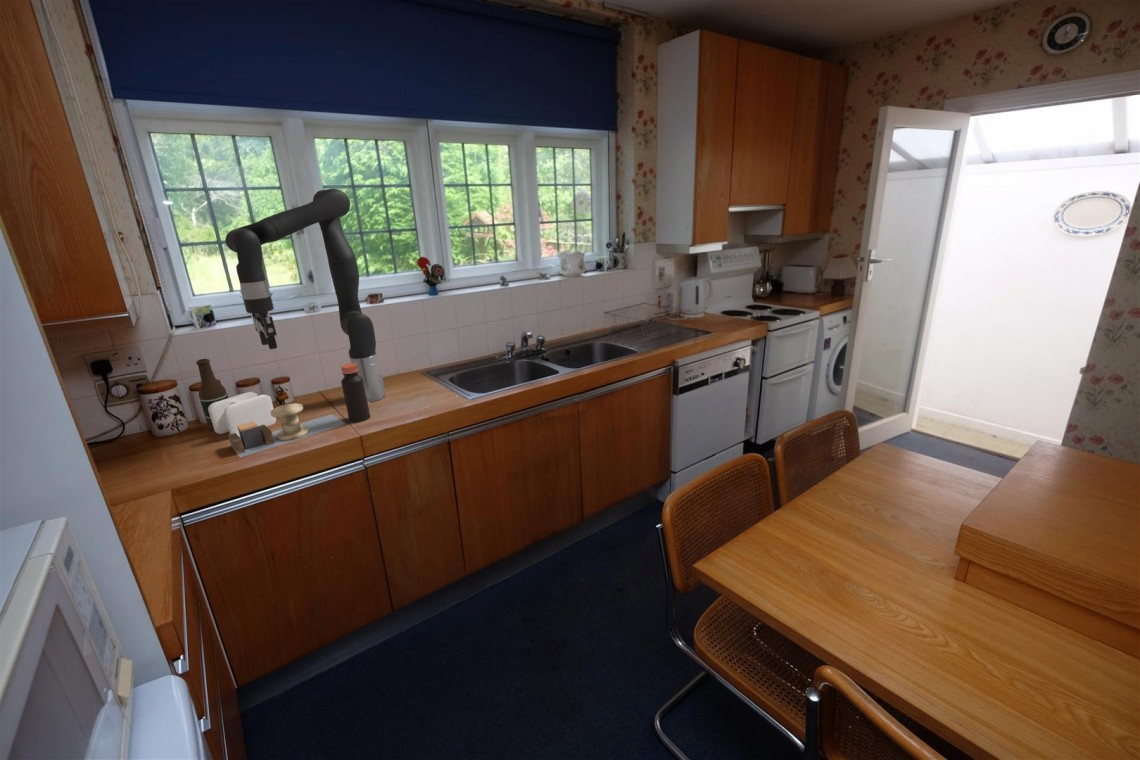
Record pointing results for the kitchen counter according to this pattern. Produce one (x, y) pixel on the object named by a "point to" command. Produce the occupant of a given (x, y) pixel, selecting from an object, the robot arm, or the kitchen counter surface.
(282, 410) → the bobbin
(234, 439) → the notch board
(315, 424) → the winding board
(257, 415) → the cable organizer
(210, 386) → the beer bottle
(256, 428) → the dark grey upright block
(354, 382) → the vinegar
